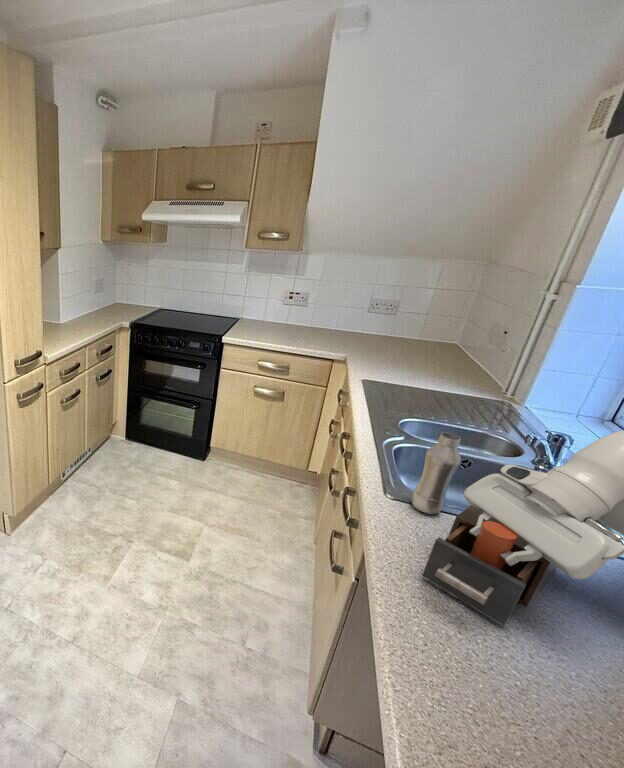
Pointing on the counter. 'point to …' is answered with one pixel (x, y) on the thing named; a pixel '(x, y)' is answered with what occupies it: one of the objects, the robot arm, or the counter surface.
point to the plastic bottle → (437, 474)
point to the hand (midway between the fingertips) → (488, 548)
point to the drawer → (478, 576)
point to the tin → (493, 543)
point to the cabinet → (546, 567)
